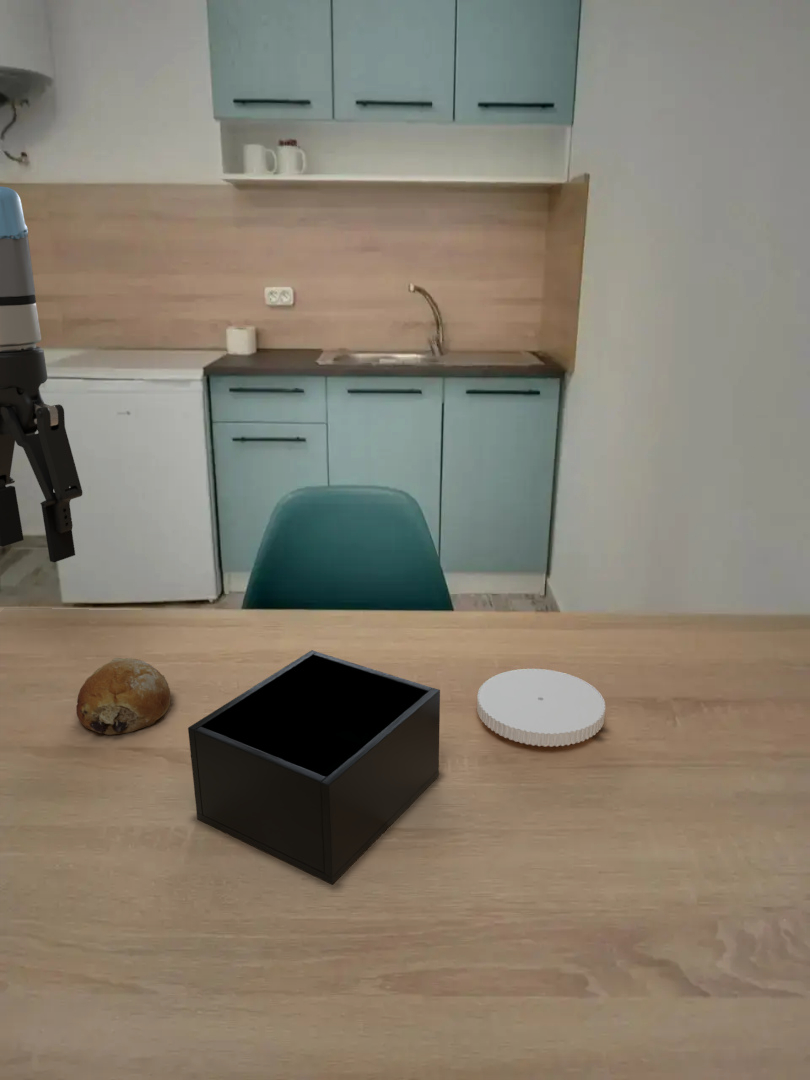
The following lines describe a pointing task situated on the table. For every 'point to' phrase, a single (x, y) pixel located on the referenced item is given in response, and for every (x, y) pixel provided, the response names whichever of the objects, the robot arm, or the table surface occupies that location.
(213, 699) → the table surface
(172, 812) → the table surface
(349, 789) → the black storage bin
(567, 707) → the plastic lid
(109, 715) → the bread roll
